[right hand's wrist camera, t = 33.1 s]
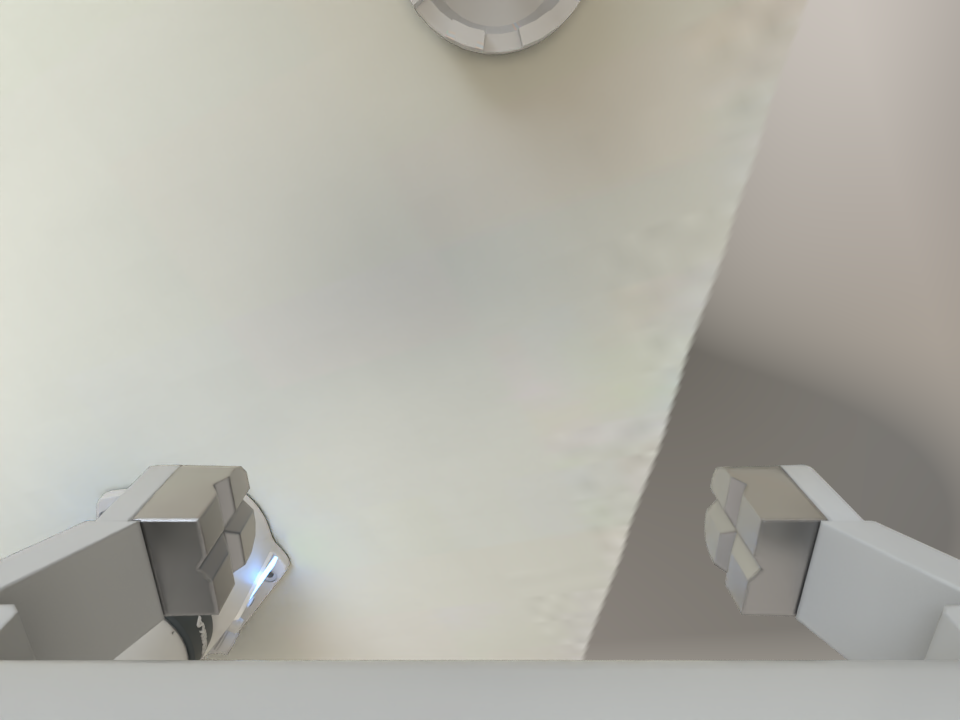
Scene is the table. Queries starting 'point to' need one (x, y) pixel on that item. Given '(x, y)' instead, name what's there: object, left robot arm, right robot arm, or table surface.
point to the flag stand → (494, 22)
